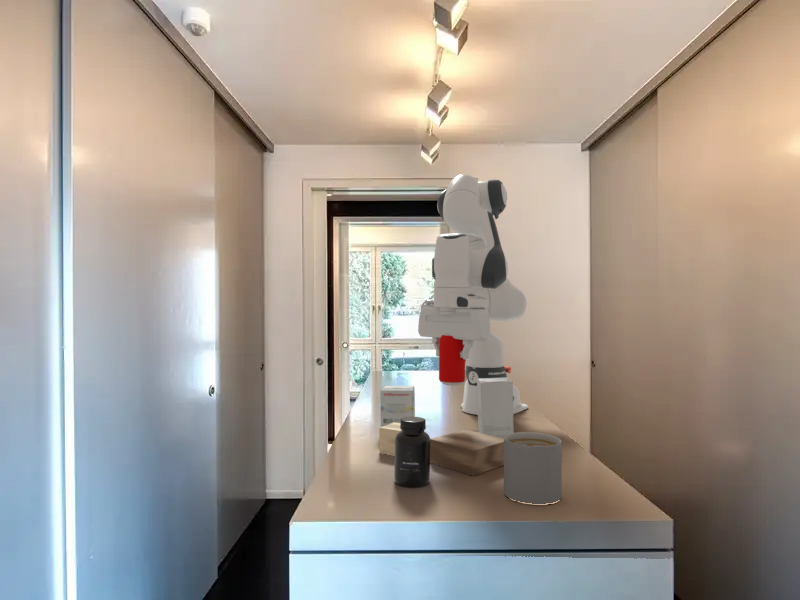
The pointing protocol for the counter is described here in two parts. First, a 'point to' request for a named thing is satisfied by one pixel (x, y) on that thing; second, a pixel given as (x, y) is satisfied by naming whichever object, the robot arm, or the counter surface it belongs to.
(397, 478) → the supplement bottle
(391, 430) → the oak block
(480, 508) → the counter surface
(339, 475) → the counter surface
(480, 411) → the skincare box
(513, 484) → the coffee mug
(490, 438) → the walnut block
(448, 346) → the beverage can
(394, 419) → the ink box
